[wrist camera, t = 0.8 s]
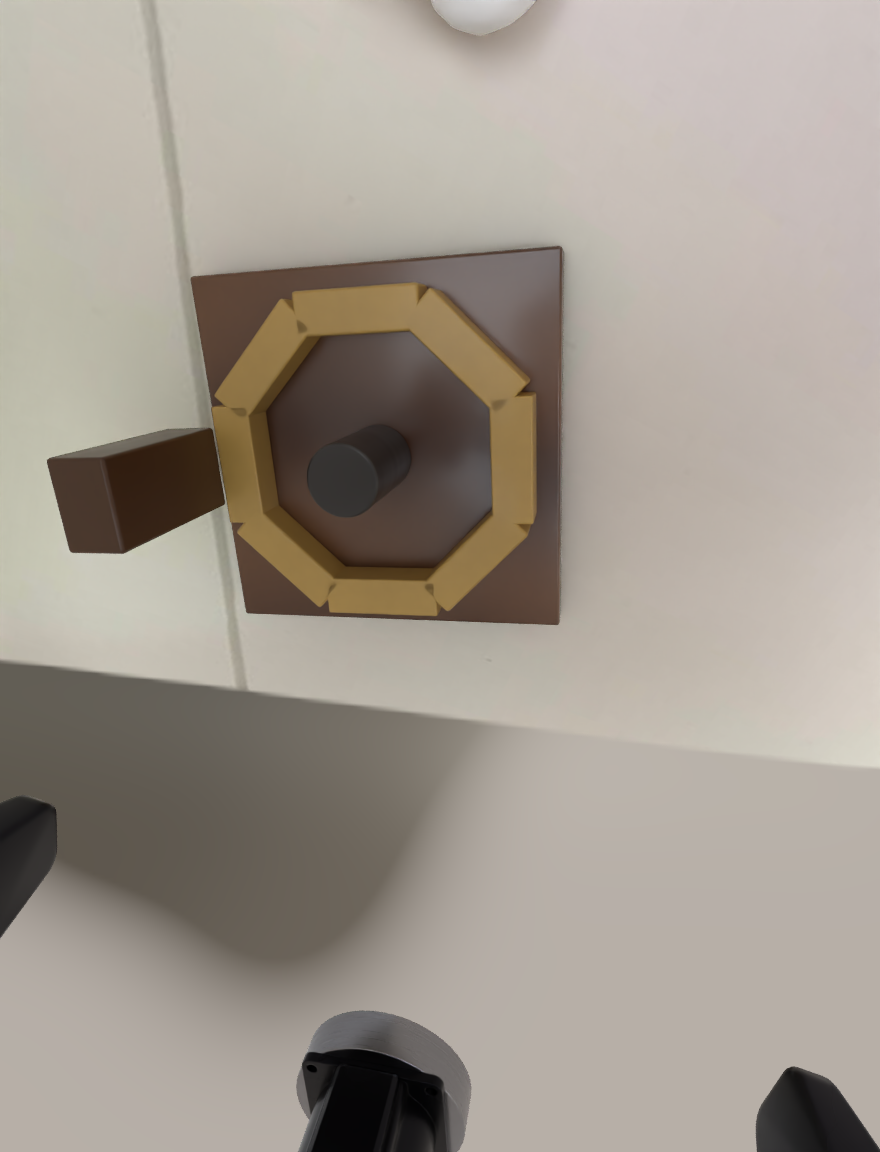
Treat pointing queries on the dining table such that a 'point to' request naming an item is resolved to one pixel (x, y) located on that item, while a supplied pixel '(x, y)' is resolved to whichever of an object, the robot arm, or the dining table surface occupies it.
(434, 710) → the dining table surface
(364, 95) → the dining table surface
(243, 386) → the ring
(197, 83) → the dining table surface
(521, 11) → the rabbit
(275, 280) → the brown peg base
